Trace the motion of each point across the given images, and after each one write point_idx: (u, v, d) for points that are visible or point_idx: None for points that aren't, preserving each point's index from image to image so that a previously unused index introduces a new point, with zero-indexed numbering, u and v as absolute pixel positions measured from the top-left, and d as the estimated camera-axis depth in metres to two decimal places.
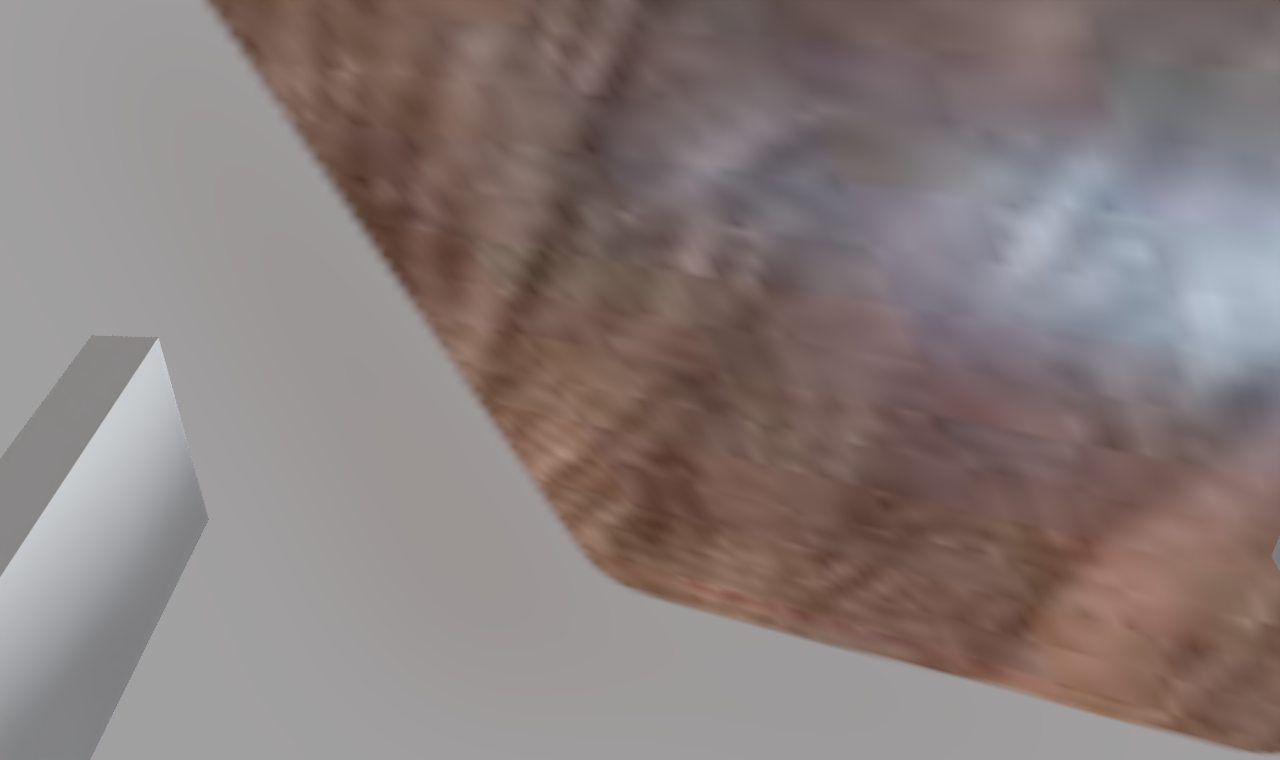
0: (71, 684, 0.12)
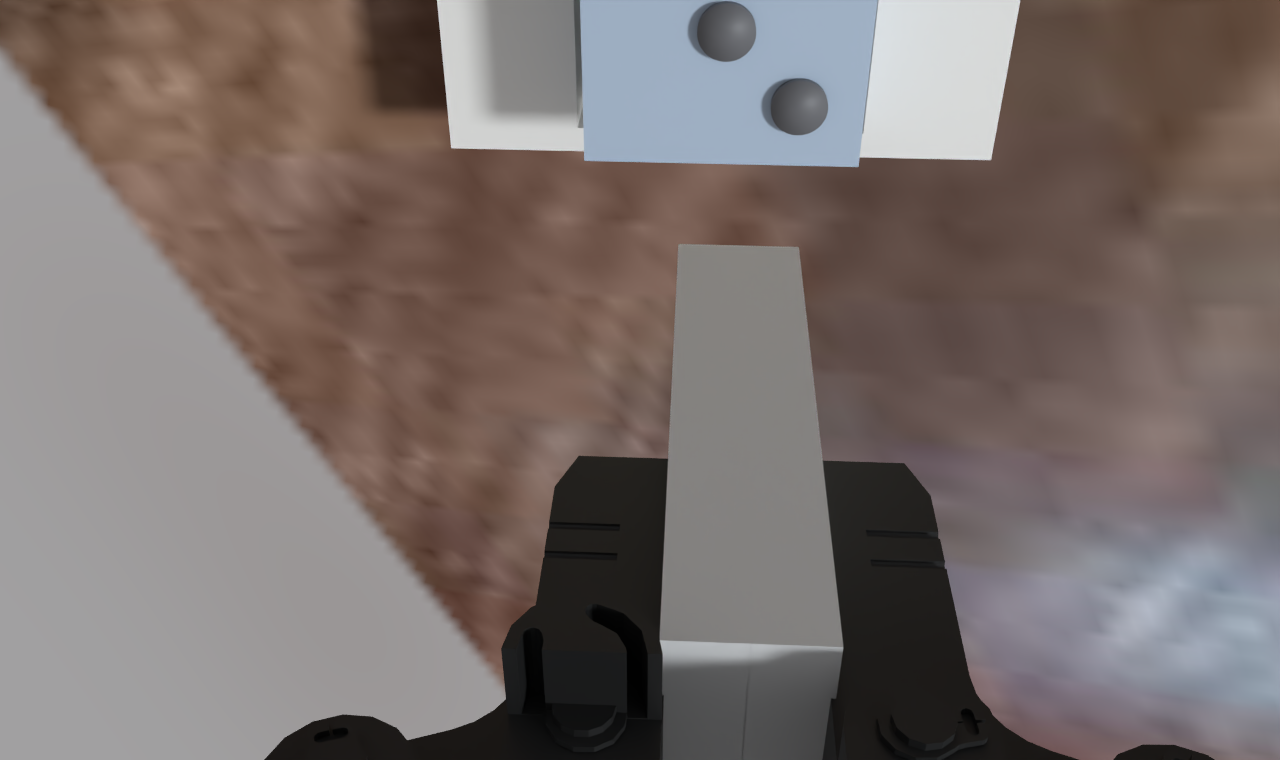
0: None
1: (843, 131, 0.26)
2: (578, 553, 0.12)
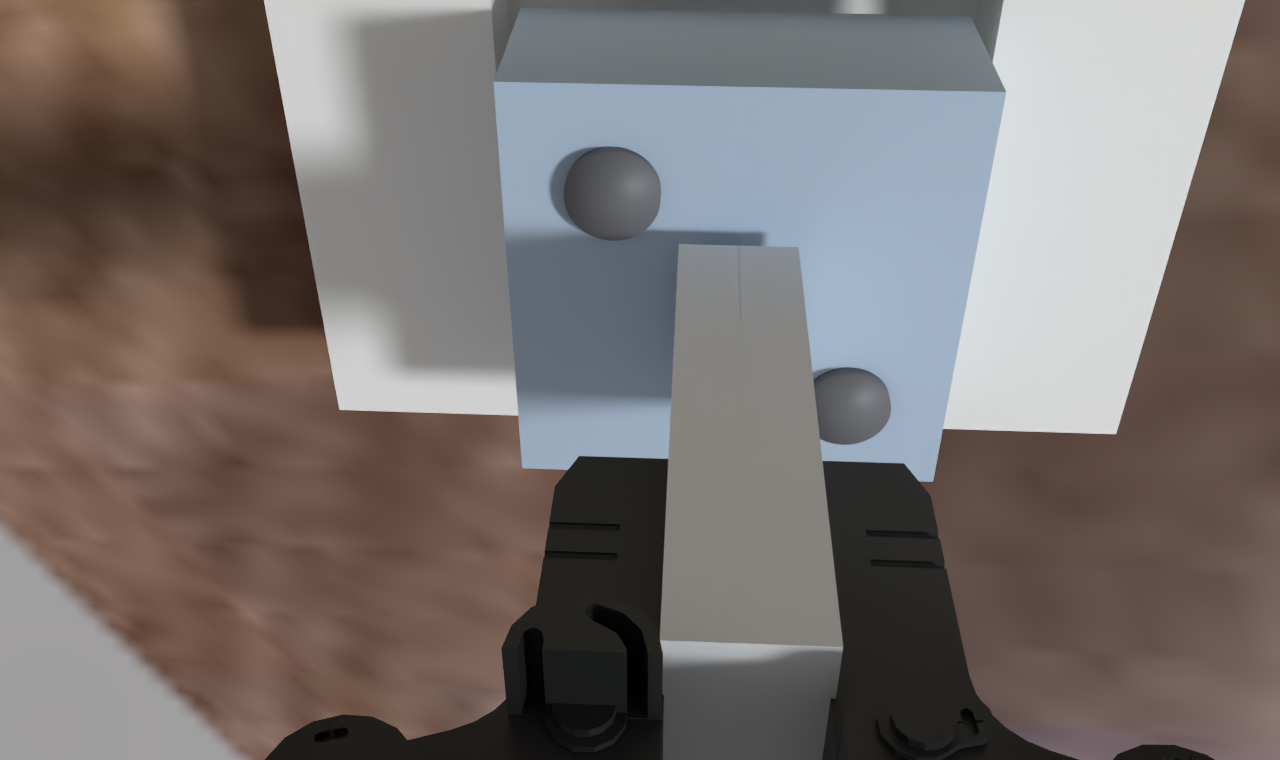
0: None
1: (912, 436, 0.17)
2: (578, 553, 0.12)
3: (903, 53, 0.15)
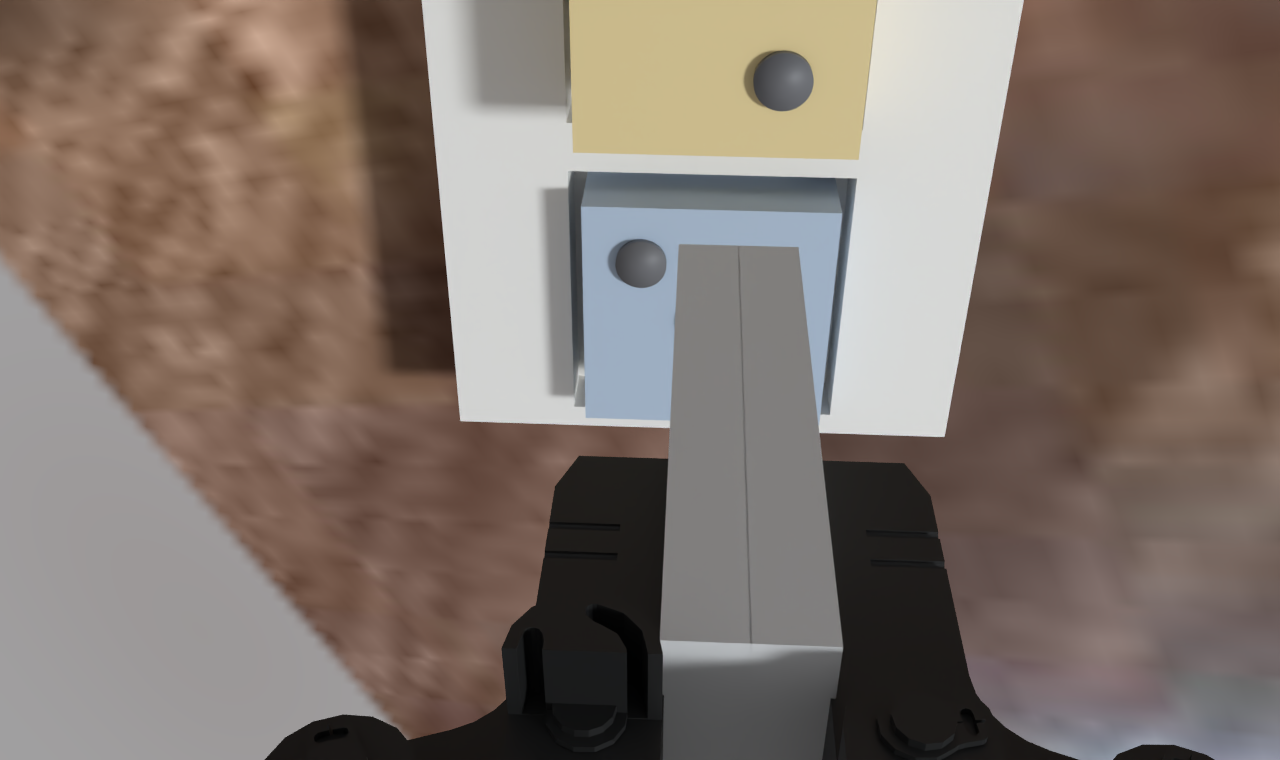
0: None
1: None
2: (578, 553, 0.12)
3: (792, 191, 0.29)
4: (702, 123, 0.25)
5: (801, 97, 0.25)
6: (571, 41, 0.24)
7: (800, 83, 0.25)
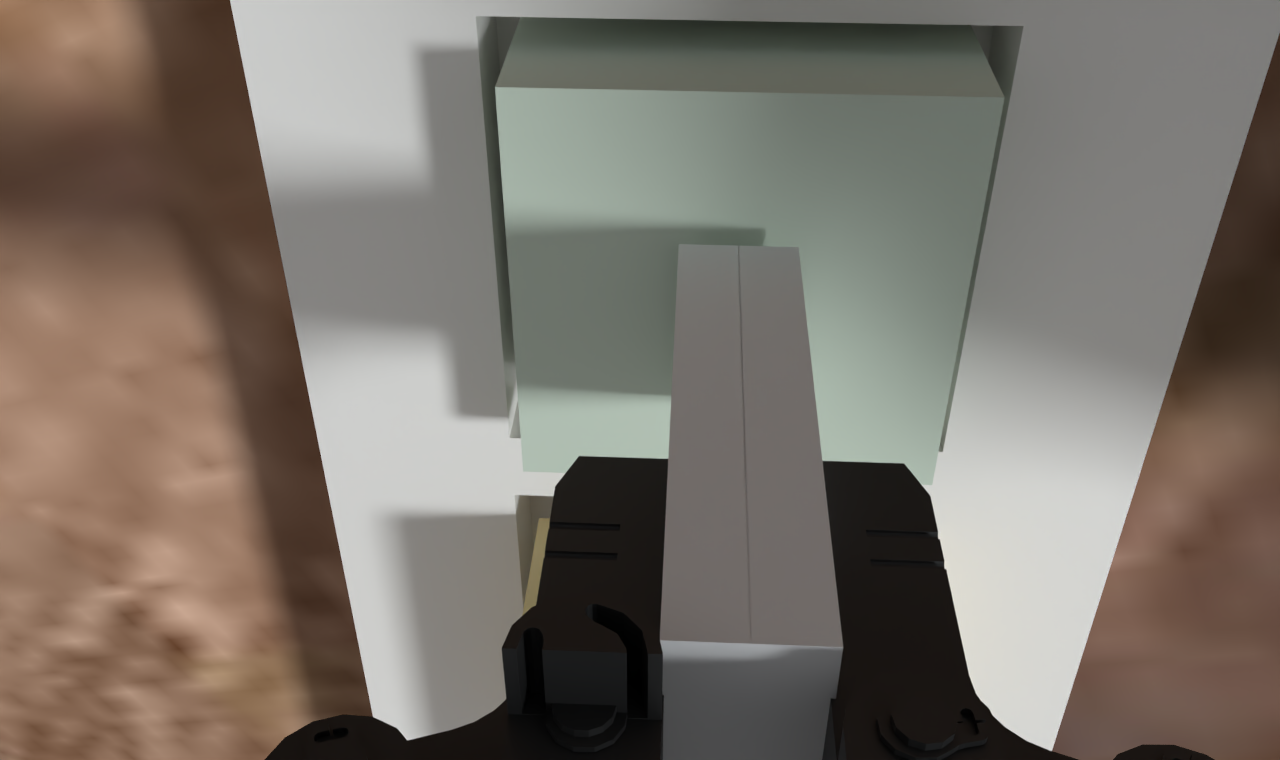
0: None
1: None
2: (578, 553, 0.12)
3: None
4: None
5: None
6: None
7: None
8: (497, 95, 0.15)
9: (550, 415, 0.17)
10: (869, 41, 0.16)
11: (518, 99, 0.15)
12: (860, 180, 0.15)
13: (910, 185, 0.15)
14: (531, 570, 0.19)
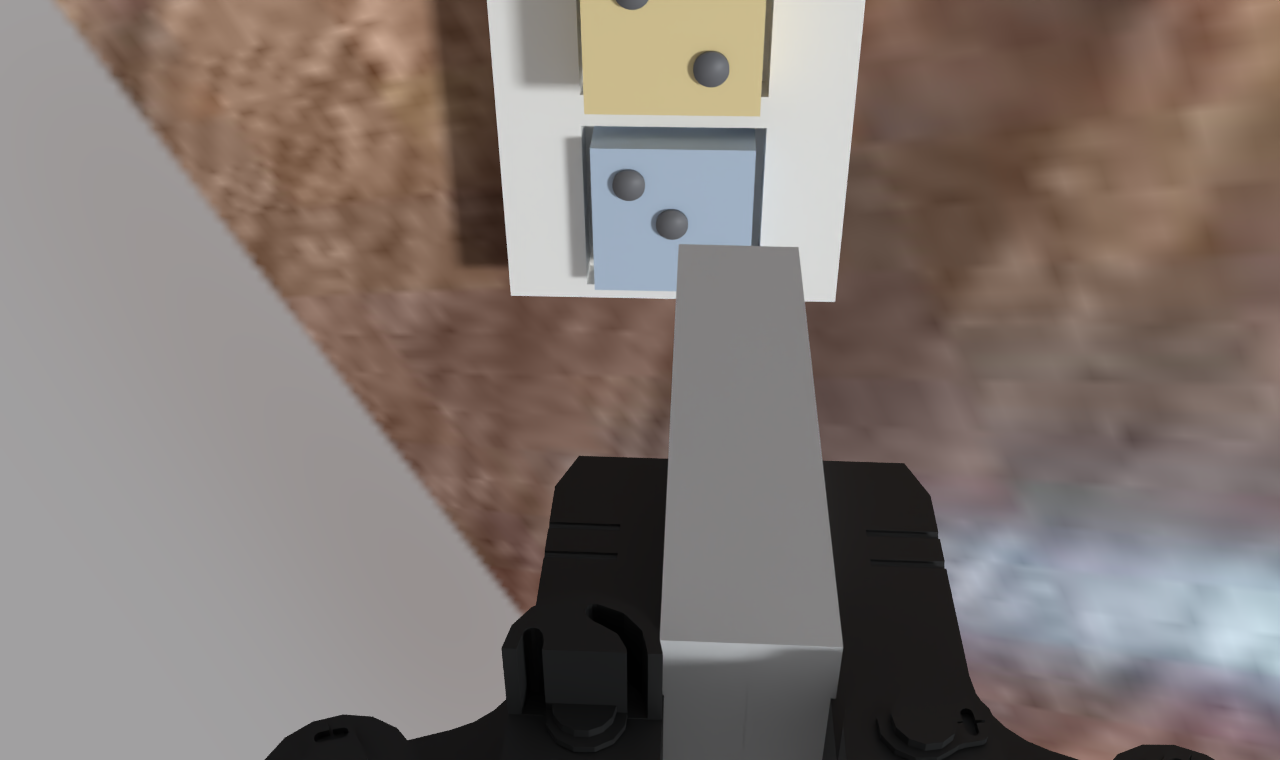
0: None
1: None
2: (578, 554, 0.12)
3: (726, 137, 0.45)
4: (663, 95, 0.41)
5: (722, 78, 0.41)
6: (582, 46, 0.41)
7: (721, 70, 0.41)
8: None
9: None
10: None
11: None
12: None
13: None
14: None
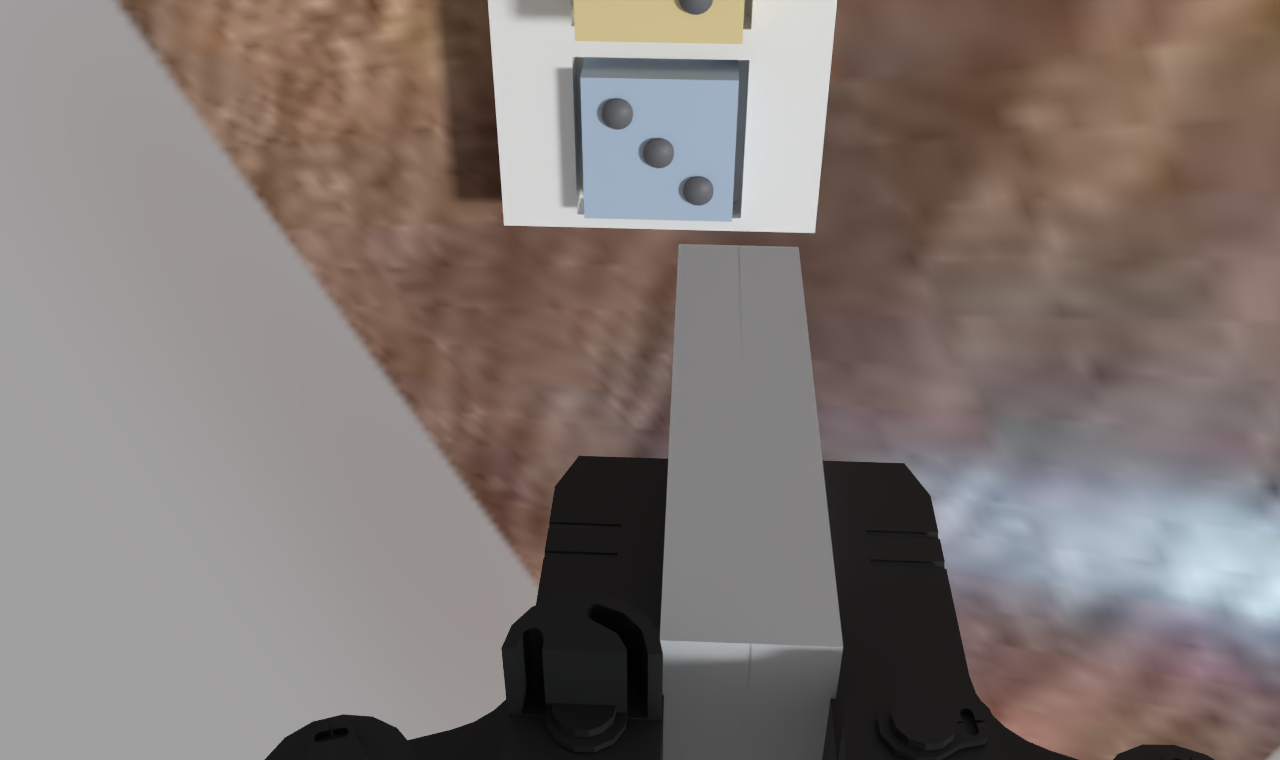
0: None
1: (722, 203, 0.49)
2: (578, 553, 0.12)
3: (710, 68, 0.47)
4: (650, 22, 0.43)
5: (706, 6, 0.43)
6: None
7: None
8: None
9: None
10: None
11: None
12: None
13: None
14: None
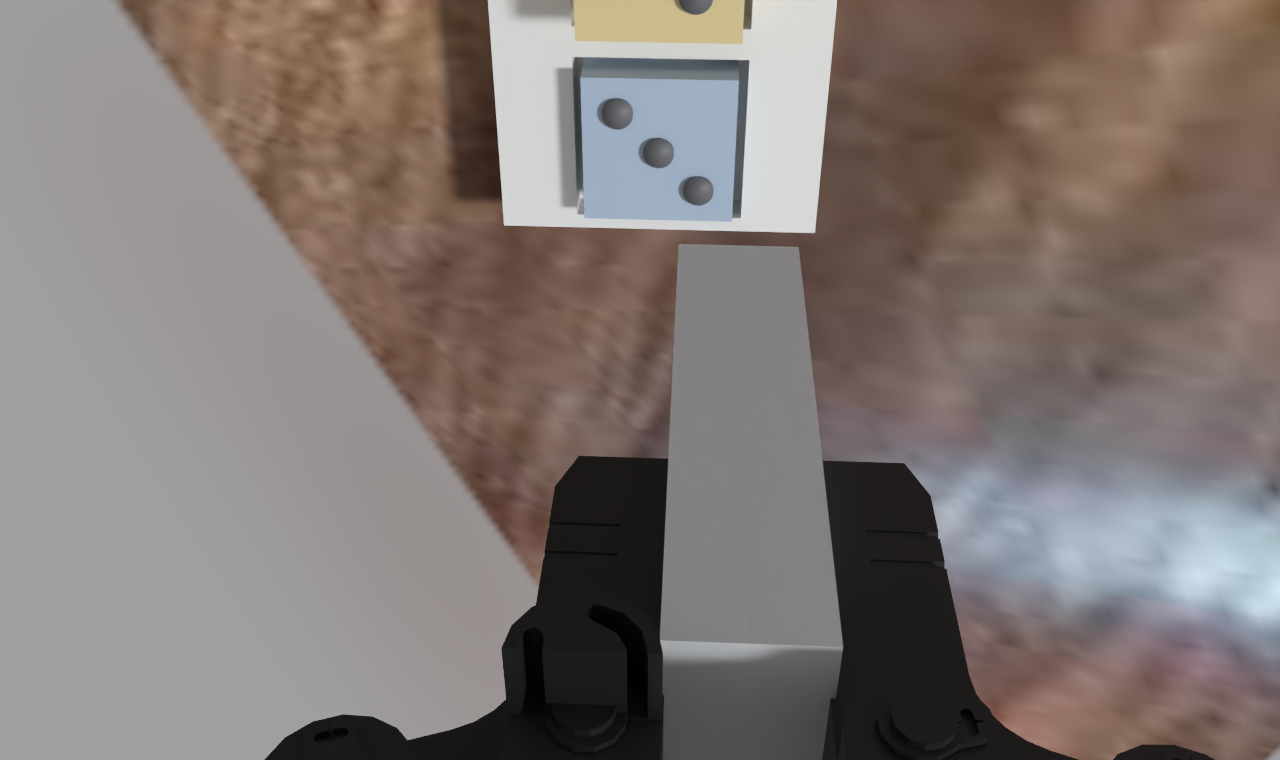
0: None
1: (722, 203, 0.49)
2: (578, 553, 0.12)
3: (710, 68, 0.47)
4: (650, 22, 0.43)
5: (706, 6, 0.43)
6: None
7: None
8: None
9: None
10: None
11: None
12: None
13: None
14: None
